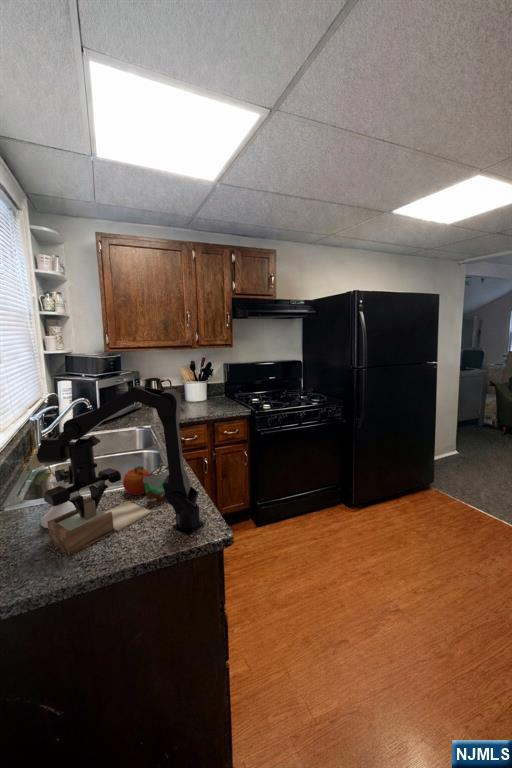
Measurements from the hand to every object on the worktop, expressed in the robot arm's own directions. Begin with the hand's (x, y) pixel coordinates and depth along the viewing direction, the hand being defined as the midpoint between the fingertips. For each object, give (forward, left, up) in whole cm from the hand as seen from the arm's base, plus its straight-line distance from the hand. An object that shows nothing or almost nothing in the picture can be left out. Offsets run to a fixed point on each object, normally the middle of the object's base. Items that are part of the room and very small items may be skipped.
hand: (88, 514), depth 89 cm
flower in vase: (+13, +2, -6) cm, 14 cm away
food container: (-1, -25, -6) cm, 26 cm away
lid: (0, +2, -1) cm, 2 cm away
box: (0, +2, -6) cm, 6 cm away
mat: (0, -10, -6) cm, 12 cm away
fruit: (+10, -23, -6) cm, 26 cm away
